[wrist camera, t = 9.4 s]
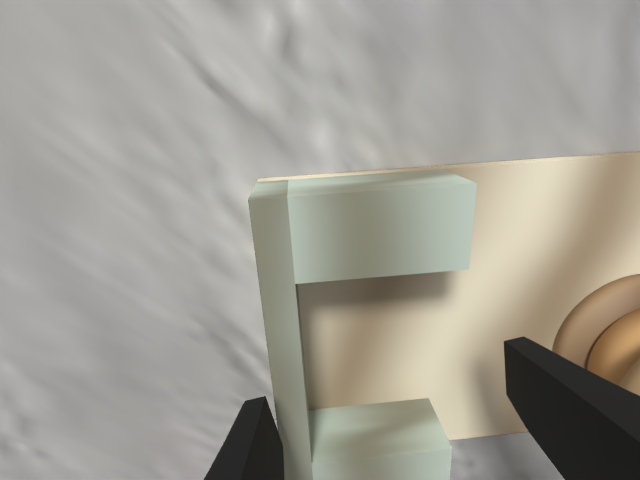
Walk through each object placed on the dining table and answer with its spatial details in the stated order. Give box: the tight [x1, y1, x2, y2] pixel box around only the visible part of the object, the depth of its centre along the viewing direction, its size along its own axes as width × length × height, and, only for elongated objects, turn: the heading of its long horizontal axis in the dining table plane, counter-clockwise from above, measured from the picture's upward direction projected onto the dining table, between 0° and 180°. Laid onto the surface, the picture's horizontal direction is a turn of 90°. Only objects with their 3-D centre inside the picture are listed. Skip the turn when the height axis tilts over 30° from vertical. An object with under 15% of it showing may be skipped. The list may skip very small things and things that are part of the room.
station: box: [248, 152, 640, 480], centre depth 13 cm, size 22×12×4 cm, turn 93°
